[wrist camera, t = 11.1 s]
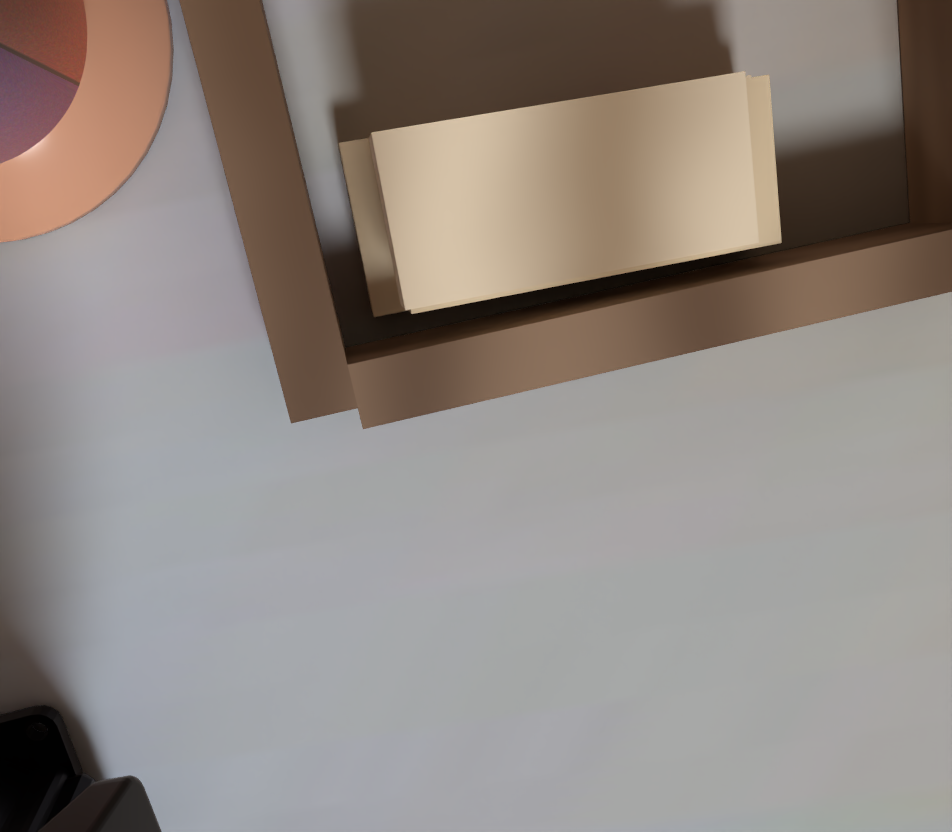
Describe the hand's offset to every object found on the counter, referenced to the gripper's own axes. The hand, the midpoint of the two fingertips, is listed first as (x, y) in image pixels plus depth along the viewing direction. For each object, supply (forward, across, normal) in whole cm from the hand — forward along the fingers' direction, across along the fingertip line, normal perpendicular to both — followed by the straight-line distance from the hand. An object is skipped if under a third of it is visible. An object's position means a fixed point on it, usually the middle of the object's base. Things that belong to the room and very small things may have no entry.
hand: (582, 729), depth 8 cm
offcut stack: (+15, -2, -4) cm, 15 cm away
